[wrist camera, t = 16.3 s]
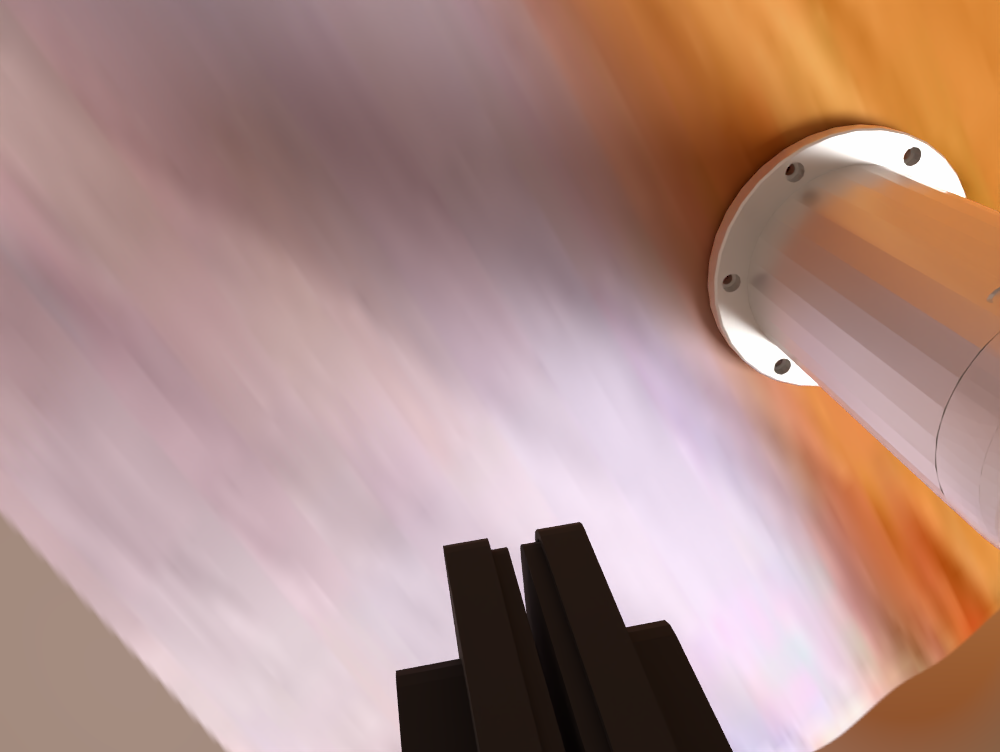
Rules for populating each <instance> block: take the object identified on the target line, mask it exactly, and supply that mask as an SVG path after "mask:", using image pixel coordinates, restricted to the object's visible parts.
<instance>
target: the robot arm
mask: <svg viewBox="0 0 1000 752" xmlns="http://www.w3.org/2000/svg"><path fill="white" fill-rule="evenodd" d="M789 166H791V167H790V170H789V171H788V172H786V170H787V168H788V167H789ZM728 275H729V276H728ZM726 276H728V278H727V279H726V280H725V281H723V280H724V279H725V278H726ZM708 292H709V299H710V307H711V310H712V313H713V316H714V319H715V321H716V324H717V327H718V329H719V331H720V332H721V334H722V335H723V337H724V338H725V340H726V342H727V343H728V345H729V346H730V347H731V348H732V349H733V350H734V351H735V352H736V353H737V354H738V356H739V357H740V358H741V359H742V360H743V361H744V362H746V363H747V364H748V365H750V366H751V367H752V368H754V369H755V370H756V371H758V372H759V373H761V374H763V375H765V376H767V377H769V378H771V379H773V380H776V381H779V382H784V383H788V384H793V385H798V386H820V387H821V388H822V389H823V390H824V391H825V392H826V393H828V394H829V395H830V396H831V397H832V398H833V399H834V400H835V401H836V402H837V403H838V404H839V405H841V406H842V407H843V408H844V409H845V410H846V411H847V412H848V413H849V414H850V415H851V416H852V417H853V418H855V419H856V420H857V421H858V422H859V423H860V424H861V425H862V426H863V427H864V428H865V429H866V430H867V431H869V432H870V433H871V434H872V435H873V436H874V437H875V438H876V439H877V440H878V441H879V442H880V443H881V444H883V445H884V446H885V447H886V448H887V449H888V450H889V451H890V452H891V453H892V454H893V455H894V456H895V457H897V458H898V459H899V460H900V461H901V462H902V463H903V464H904V465H905V466H906V467H907V468H908V469H909V470H911V471H912V472H913V473H914V474H915V475H916V476H917V477H918V478H919V479H920V480H921V481H922V482H924V483H925V484H926V485H927V486H928V487H929V488H930V489H931V490H932V491H933V492H934V493H935V494H936V495H938V496H939V497H940V498H941V499H942V500H943V501H944V502H945V503H946V504H947V505H948V506H949V507H950V508H952V509H953V510H954V511H955V512H956V513H957V514H958V515H959V516H960V517H961V518H963V519H964V520H965V521H966V522H967V523H968V524H969V525H970V526H971V527H972V528H974V529H975V530H976V531H977V532H978V533H979V534H980V535H981V536H982V537H983V538H985V539H986V540H987V541H988V542H990V543H991V544H992V545H994V546H995V547H996V548H998V549H999V550H1000V212H998V211H996V210H993V209H991V208H989V207H986V206H984V205H981V204H979V203H977V202H974V201H972V200H969V199H967V198H966V194H965V191H964V189H963V187H962V184H961V182H960V180H959V177H958V175H957V173H956V172H955V170H954V169H953V168H952V166H951V165H950V164H949V162H948V161H947V160H946V158H945V157H944V156H943V155H942V154H941V153H939V152H938V151H937V150H936V149H934V148H933V147H932V146H931V145H929V144H928V143H927V142H925V141H923V140H921V139H918V138H916V137H914V136H912V135H910V134H908V133H905V132H902V131H899V130H895V129H892V128H888V127H885V126H876V125H863V124H857V125H850V126H842V127H834V128H831V129H828V130H825V131H822V132H819V133H816V134H813V135H810V136H808V137H806V138H804V139H802V140H800V141H798V142H796V143H795V144H793V145H791V146H789V147H787V148H785V149H784V150H782V151H781V152H780V153H779V154H777V155H776V156H775V157H773V158H772V159H771V160H770V161H768V162H767V163H766V164H764V165H763V166H762V167H761V168H760V169H759V170H758V171H757V172H756V173H755V174H754V175H753V177H752V178H751V179H750V180H749V181H748V182H747V183H746V184H745V185H744V186H743V187H742V189H741V190H740V192H739V193H738V195H737V196H736V198H735V199H734V201H733V202H732V204H731V205H730V207H729V208H728V210H727V212H726V214H725V216H724V218H723V220H722V223H721V225H720V227H719V229H718V231H717V234H716V236H715V240H714V244H713V248H712V252H711V256H710V260H709V272H708ZM443 549H444V557H445V564H446V570H447V577H448V584H449V591H450V598H451V605H452V611H453V618H454V625H455V632H456V639H457V646H458V652H459V659H456V660H451V661H445V662H440V663H435V664H430V665H424V666H419V667H414V668H408V669H403V670H398V671H396V686H397V698H398V711H399V723H400V735H401V747H402V752H733V751H732V749H731V747H730V745H729V743H728V741H727V739H726V737H725V735H724V733H723V731H722V728H721V726H720V724H719V722H718V720H717V718H716V716H715V714H714V712H713V710H712V708H711V706H710V704H709V702H708V700H707V698H706V696H705V694H704V692H703V690H702V687H701V685H700V683H699V681H698V679H697V677H696V675H695V673H694V671H693V669H692V667H691V665H690V663H689V661H688V659H687V657H686V655H685V653H684V651H683V649H682V646H681V644H680V642H679V640H678V638H677V636H676V634H675V633H674V631H673V629H672V627H671V626H670V624H669V623H667V622H666V621H665V620H663V621H657V622H652V623H647V624H641V625H636V626H631V627H625V624H624V622H623V619H622V617H621V615H620V612H619V610H618V607H617V605H616V603H615V600H614V598H613V596H612V593H611V591H610V588H609V586H608V584H607V581H606V579H605V577H604V574H603V572H602V569H601V567H600V565H599V562H598V560H597V558H596V555H595V553H594V550H593V548H592V546H591V543H590V541H589V539H588V536H587V534H586V531H585V529H584V527H583V525H582V524H581V523H580V522H577V523H572V524H566V525H560V526H554V527H549V528H543V529H537V530H536V531H535V542H534V543H528V544H522V545H521V548H520V550H521V562H522V572H523V583H524V593H525V603H526V611H525V607H524V604H523V600H522V597H521V593H520V589H519V586H518V582H517V579H516V575H515V572H514V568H513V565H512V561H511V558H510V554H509V551H508V548H507V547H505V548H500V549H494V550H491V548H490V544H489V541H488V539H487V538H486V539H480V540H474V541H468V542H463V543H457V544H451V545H446V546H443Z"/></svg>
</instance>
